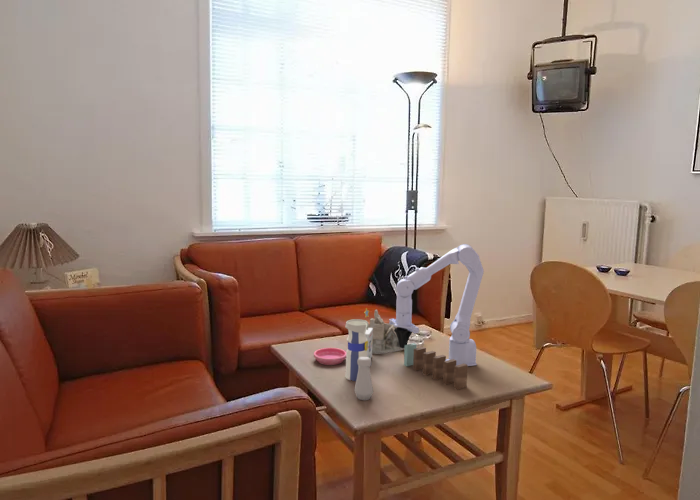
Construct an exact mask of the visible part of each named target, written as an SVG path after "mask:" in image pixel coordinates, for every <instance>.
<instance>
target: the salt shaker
mask: <svg viewBox="0 0 700 500" xmlns="http://www.w3.org/2000/svg"><path fill="white" fill-rule="evenodd" d="M357 364H358V366H359V369H358V374H357V380H356V381H355V386H354V393H355V395H356V398H357V399H358V400H359V401H368V400H370V399H371V397H372V395H373V394H374V388H373V381H372V376H371V369H370V366H371V365H372V358H371V359H370V358H369V357H360V358H358V360H357Z"/></svg>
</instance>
